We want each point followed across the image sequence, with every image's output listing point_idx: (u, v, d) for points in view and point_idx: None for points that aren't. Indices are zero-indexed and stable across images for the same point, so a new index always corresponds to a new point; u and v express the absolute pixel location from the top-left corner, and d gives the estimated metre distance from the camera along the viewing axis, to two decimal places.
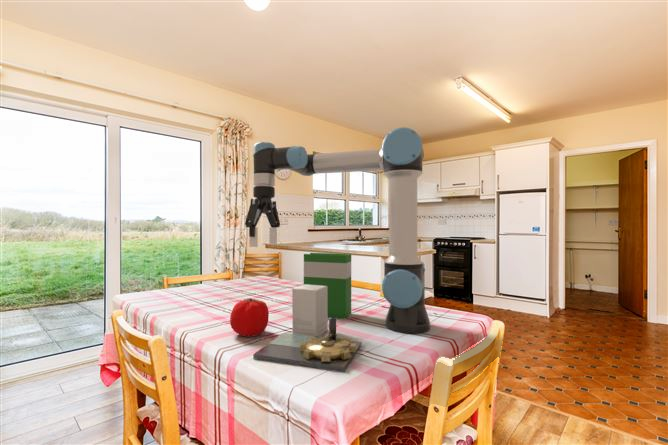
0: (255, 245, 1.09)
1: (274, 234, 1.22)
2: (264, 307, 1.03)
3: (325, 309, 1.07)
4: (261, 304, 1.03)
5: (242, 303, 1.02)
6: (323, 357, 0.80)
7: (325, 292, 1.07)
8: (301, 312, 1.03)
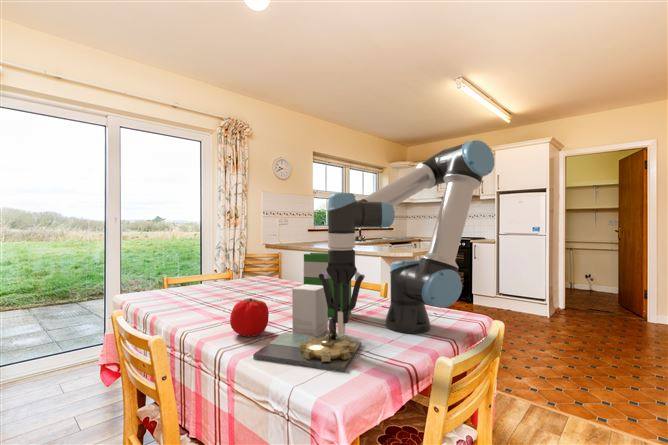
0: (338, 333, 0.88)
1: None
2: (264, 307, 1.03)
3: (325, 309, 1.07)
4: (261, 304, 1.03)
5: (242, 303, 1.02)
6: (323, 357, 0.80)
7: None
8: (301, 312, 1.03)
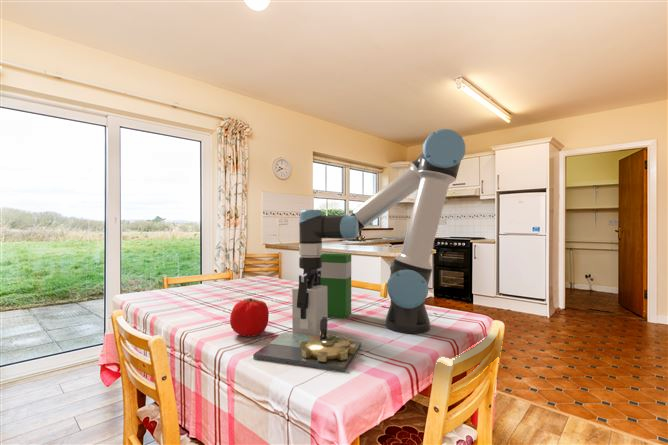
0: (306, 327, 1.01)
1: None
2: (264, 307, 1.03)
3: (325, 309, 1.07)
4: (261, 304, 1.03)
5: (242, 303, 1.02)
6: (342, 356, 0.81)
7: (325, 292, 1.07)
8: None
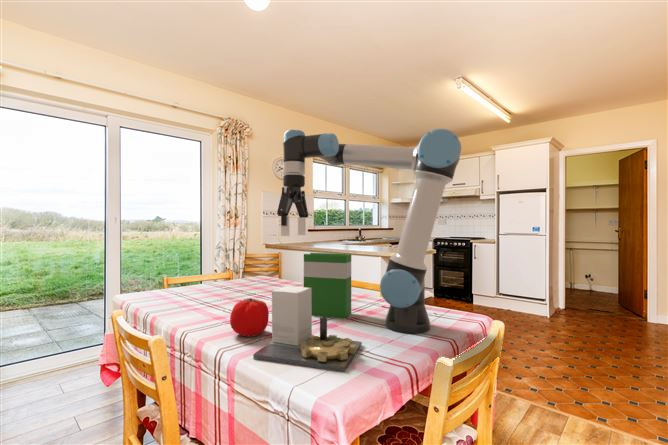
0: (287, 234, 1.07)
1: (303, 224, 1.20)
2: (264, 307, 1.03)
3: (309, 314, 0.96)
4: (261, 304, 1.03)
5: (242, 303, 1.02)
6: (342, 356, 0.81)
7: (309, 295, 0.97)
8: (282, 317, 0.92)
